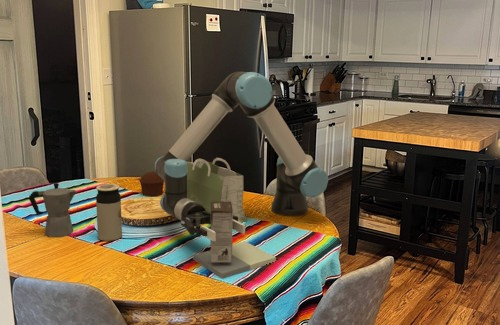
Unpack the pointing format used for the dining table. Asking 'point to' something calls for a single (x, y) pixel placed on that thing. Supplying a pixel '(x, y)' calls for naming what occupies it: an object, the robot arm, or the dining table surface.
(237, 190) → the grocery bag
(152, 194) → the muffin
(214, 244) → the coffee box
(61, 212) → the coffeepot
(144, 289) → the dining table surface
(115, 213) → the travel mug
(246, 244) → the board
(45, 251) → the dining table surface
